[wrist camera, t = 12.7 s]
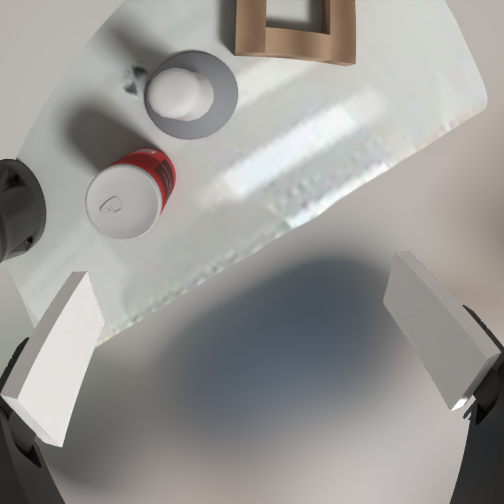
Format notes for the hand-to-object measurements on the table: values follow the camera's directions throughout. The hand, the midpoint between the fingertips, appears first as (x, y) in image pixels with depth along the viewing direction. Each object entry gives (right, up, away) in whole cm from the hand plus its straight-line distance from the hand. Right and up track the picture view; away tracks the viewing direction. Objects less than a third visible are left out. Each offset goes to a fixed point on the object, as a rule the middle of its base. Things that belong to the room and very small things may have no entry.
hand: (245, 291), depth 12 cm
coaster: (-7, +20, +19) cm, 29 cm away
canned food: (-13, +11, +24) cm, 29 cm away
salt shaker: (-7, +20, +19) cm, 28 cm away
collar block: (+5, +31, +15) cm, 35 cm away
